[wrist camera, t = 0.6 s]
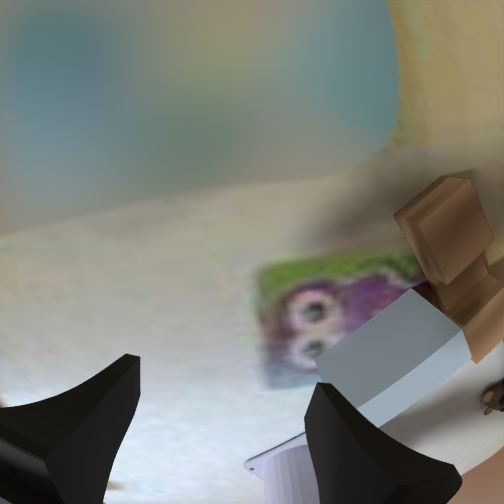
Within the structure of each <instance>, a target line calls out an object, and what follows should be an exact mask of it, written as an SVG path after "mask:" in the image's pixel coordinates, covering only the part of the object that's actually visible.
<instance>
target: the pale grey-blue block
mask: <svg viewBox="0 0 504 504" xmlns="http://www.w3.org/2000/svg"><path fill="white" fill-rule="evenodd" d="M471 357H472V356H471V353H470V350H469V347H468V344H467V341H466V339H465V336H464V333H463V330H462V329H461V328H460V327H459V326H458V325H457V324H455V323H454V322H453V321H452V320H450V319H449V318H448V317H447V316H446V315H444V314H443V313H442V312H441V311H439V310H438V309H437V308H436V307H434V306H433V305H432V304H431V303H429V302H428V301H427V300H426V299H424V298H423V297H422V296H421V295H419V294H418V293H417V292H415V291H414V290H413V289H412V288H410V289H409V290H408V291H406V292H405V293H404V294H403V295H401V296H400V297H399V298H398V299H396V300H395V301H394V302H393V303H391V304H390V305H389V306H387V307H386V308H385V309H384V310H382V311H381V312H380V313H378V314H377V315H376V316H374V317H373V318H372V319H370V320H369V321H368V322H366V323H365V324H364V325H362V326H361V327H359V328H358V329H357V330H355V331H354V332H352V333H351V334H350V335H348V336H347V337H345V338H344V339H343V340H341V341H340V342H338V343H337V344H335V345H334V346H332V347H331V348H330V349H328V350H327V351H325V352H324V353H322V354H321V355H319V356H318V357H316V358H315V359H314V360H315V363H316V365H317V368H318V371H319V374H320V376H321V379H322V382H323V383H331V384H332V385H333V386H334V387H335V388H336V389H337V390H338V391H339V392H340V393H341V394H342V395H343V396H344V397H345V398H346V399H347V400H348V401H349V402H350V403H351V404H352V405H353V406H354V407H355V408H356V409H357V410H358V411H359V412H360V413H361V414H362V415H363V416H365V417H366V418H367V419H368V420H369V421H370V422H371V423H373V424H374V425H375V426H376V427H377V428H379V427H380V426H382V425H383V424H385V423H386V422H388V421H389V420H391V419H392V418H394V417H395V416H397V415H398V414H400V413H401V412H403V411H404V410H406V409H407V408H409V407H410V406H411V405H413V404H414V403H416V402H417V401H418V400H420V399H421V398H422V397H424V396H425V395H426V394H428V393H429V392H430V391H432V390H433V389H434V388H435V387H437V386H438V385H439V384H440V383H442V382H443V381H444V380H445V379H447V378H448V377H449V376H450V375H452V374H453V373H454V372H455V371H456V370H457V369H459V368H460V367H461V366H462V365H463V364H464V363H466V362H467V361H468V360H469V359H470V358H471Z"/></svg>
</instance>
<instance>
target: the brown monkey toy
mask: <svg viewBox="0 0 504 504" xmlns="http://www.w3.org/2000/svg"><path fill="white" fill-rule="evenodd" d="M481 403H487V405H488V406H489V407H488V408H487V409H486V410H485V412H484V415H487V414H489V413H490V412H492V411H493V409H494V410H500V411H501V412H503V411H504V386H503V387H502V386H499V385H496V386H493V387H492V388H490V389H489V390H488V391H487V392H486V393H485V394H484V395H483V397H482V399H481Z"/></svg>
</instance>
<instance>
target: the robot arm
mask: <svg viewBox="0 0 504 504" xmlns="http://www.w3.org/2000/svg"><path fill="white" fill-rule="evenodd" d="M139 398H140V357H139V356H135V355H130V354H125V355H123V356H122V357H120V358H119V359H118V360H116V361H115V362H113V363H112V364H111V365H109V366H108V367H107V368H105V369H104V370H102V371H101V372H99V373H98V374H96V375H95V376H93V377H92V378H90V379H88V380H87V381H85V382H83V383H82V384H80V385H78V386H76V387H74V388H72V389H70V390H68V391H66V392H64V393H61V394H59V395H56V396H53V397H50V398H47V399H44V400H41V401H38V402H34V403H30V404H25V405H20V406H14V407H5V408H0V504H103V499H104V495H105V491H106V487H107V483H108V479H109V476H110V472H111V469H112V465H113V462H114V459H115V457H116V454H117V452H118V449H119V447H120V445H121V443H122V441H123V438H124V436H125V434H126V432H127V430H128V428H129V425H130V423H131V421H132V419H133V416H134V414H135V411H136V408H137V405H138V401H139ZM304 421H305V432H306V433H304V434H302V435H301V436H299V437H297V438H295V439H293V440H291V441H289V442H287V443H285V444H283V445H281V446H279V447H277V448H275V449H273V450H271V451H269V452H266V453H264V454H262V455H260V456H258V457H256V458H253V459H251V460H249V461H247V462H245V463H244V468H245V469H247V470H248V471H250V472H251V473H253V474H254V475H256V476H257V477H259V478H260V479H262V480H263V484H264V498H265V504H447V502H448V501H449V500H450V499H451V498H452V497H453V496H454V495H455V494H456V493H457V491H458V490H459V489H460V487H461V485H462V478H461V476H460V475H459V473H458V471H457V470H456V468H455V466H454V465H453V464H449V463H446V462H443V461H439V460H436V459H433V458H430V457H428V456H425V455H423V454H421V453H418V452H416V451H414V450H412V449H410V448H408V447H406V446H405V445H403V444H401V443H399V442H398V441H396V440H394V439H393V438H391V437H390V436H388V435H387V434H386V433H384V432H383V431H381V430H380V429H379V428H377V427H376V426H375V425H374V424H373V423H371V422H370V421H369V420H368V419H367V418H366V417H365V416H363V415H362V414H361V413H360V412H359V411H358V410H357V409H356V408H355V407H354V406H353V405H352V404H351V403H350V402H349V401H348V400H347V399H346V398H345V397H344V396H343V395H342V394H341V393H340V392H339V391H338V390H337V389H336V388H335V387H334V386H333V385H332V384H331V383H319V382H317V384H316V387H315V390H314V393H313V395H312V398H311V401H310V403H309V406H308V409H307V411H306V414H305V417H304Z"/></svg>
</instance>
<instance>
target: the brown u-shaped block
mask: <svg viewBox="0 0 504 504" xmlns="http://www.w3.org/2000/svg"><path fill="white" fill-rule="evenodd" d="M394 217H395V219H396V221H397V223H398V224H399V226H400V228H401V230H402V231H403V233H404V235H405V237H406V239H407V241H408V242H409V244H410V246H411V248H412V250H413V252H414V254H415V256H416V258H417V260H418V262H419V264H420V266H421V268H422V270H423V272H424V274H425V276H426V278H427V280H428V282H429V284H430V286H431V288H432V290H433V292H434V295H435V297H436V299H437V301H438V303H439V306H440V308H441V310H442V312H443V314H444V315H446V316H447V317H448V318H449V319H450V320H452V321H453V322H454V323H455V324H457V325H458V326H459V327H460V328H461V329H462V330H463V333H464V336H465V339H466V341H467V344H468V347H469V350H470V353H471V356H472V357H471V358H470V359H471V360H473V361H474V362H475V363H476V364H477V363H478V362H480V361H481V360H482V359H483V358H484V357H485V356H486V355H487V354H488V353H489V352H490V351H491V350H492V349H493V348H494V347H495V346H496V345H497V344H498V343H499V342H500V341H501V340H502V339H503V338H504V282H503V281H501V280H499V279H497V278H495V277H493V276H491V275H490V274H488V272H487V269H486V266H485V263H484V260H483V257H482V254H481V253H482V252H483V251H484V250H485V249H486V248H487V247H488V246H489V245H490V244H491V242H492V241H493V240H494V239H493V236H492V233H491V230H490V227H489V224H488V222H487V219H486V216H485V214H484V211H483V209H482V206H481V204H480V201H479V199H478V196H477V194H476V191H475V189H474V187H473V185H472V182H471V180H470V179H465V178H456V177H446V176H441V177H439V178H438V179H437V180H436V181H435V182H434V183H432V184H431V185H430V186H429V187H428V188H426V189H425V190H424V191H423V192H422V193H420V194H419V195H418V196H417V197H415V198H414V199H413V200H412V201H411V202H409V203H408V204H407V205H406V206H404V207H403V208H402V209H401V210H399V211H398V212H397V213H396V214H394Z"/></svg>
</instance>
